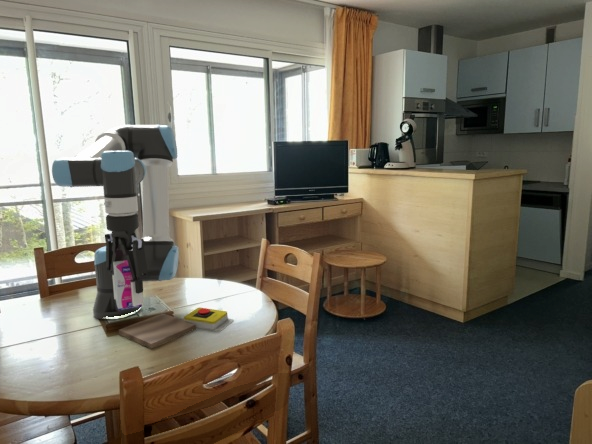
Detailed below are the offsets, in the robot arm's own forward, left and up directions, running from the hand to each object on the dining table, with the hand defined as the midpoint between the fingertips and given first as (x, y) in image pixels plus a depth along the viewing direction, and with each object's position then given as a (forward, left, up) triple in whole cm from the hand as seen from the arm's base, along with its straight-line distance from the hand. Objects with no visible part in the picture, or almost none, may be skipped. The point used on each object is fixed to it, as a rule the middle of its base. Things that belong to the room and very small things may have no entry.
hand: (128, 301), depth 111 cm
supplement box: (0, 0, -1) cm, 1 cm away
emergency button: (-3, +29, -17) cm, 34 cm away
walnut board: (-10, +15, -17) cm, 24 cm away
